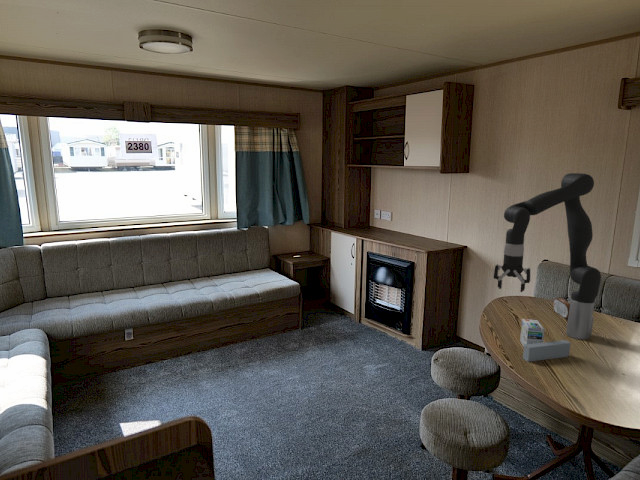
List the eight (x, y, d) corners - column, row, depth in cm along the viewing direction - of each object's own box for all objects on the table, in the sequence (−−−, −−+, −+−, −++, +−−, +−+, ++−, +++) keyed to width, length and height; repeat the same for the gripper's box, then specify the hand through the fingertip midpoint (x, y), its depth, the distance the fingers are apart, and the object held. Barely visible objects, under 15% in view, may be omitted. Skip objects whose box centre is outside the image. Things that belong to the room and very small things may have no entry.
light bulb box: (542, 353, 181) (545, 329, 179) (525, 351, 182) (528, 327, 180) (535, 342, 191) (538, 319, 189) (519, 340, 192) (521, 318, 190)
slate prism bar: (563, 353, 181) (564, 339, 180) (568, 356, 178) (570, 342, 177) (522, 358, 176) (524, 344, 175) (527, 361, 173) (529, 347, 172)
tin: (572, 321, 217) (574, 305, 215) (566, 321, 217) (568, 305, 215) (556, 310, 231) (558, 295, 230) (551, 310, 231) (553, 295, 230)
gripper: (533, 253, 182) (529, 290, 186) (497, 250, 190) (494, 285, 193) (531, 257, 176) (527, 295, 179) (494, 253, 183) (491, 289, 187)
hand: (510, 290), depth 186 cm, fingers open, 8 cm apart
